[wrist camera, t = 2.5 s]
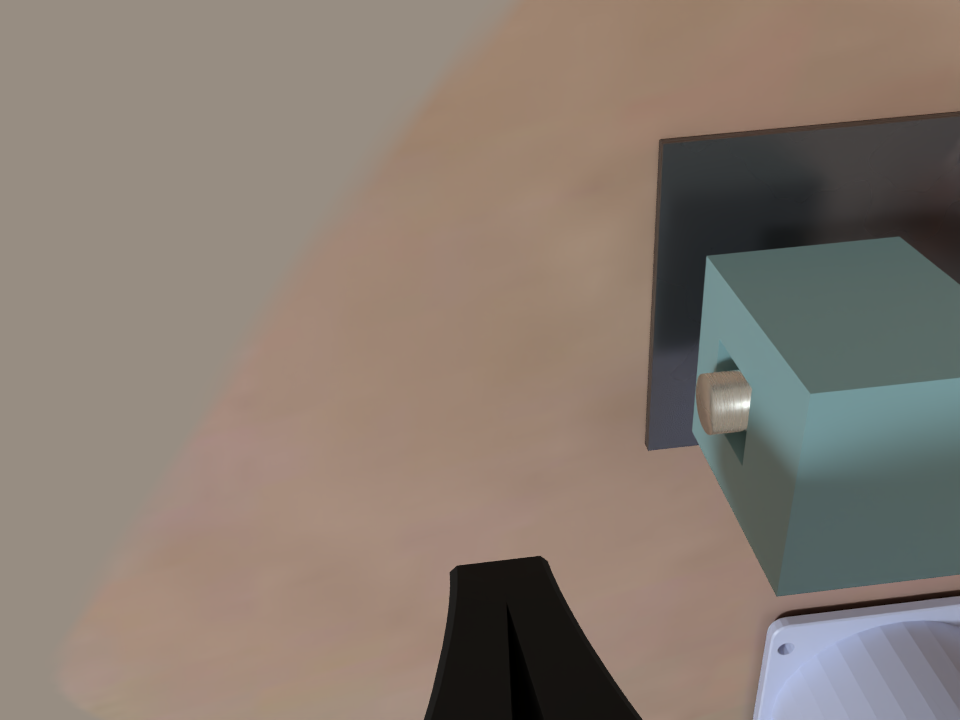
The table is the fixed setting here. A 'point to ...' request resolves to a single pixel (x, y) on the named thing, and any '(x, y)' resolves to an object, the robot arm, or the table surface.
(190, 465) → the table surface
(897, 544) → the teal block on rod
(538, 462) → the table surface
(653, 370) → the grey metal stand
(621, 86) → the table surface
